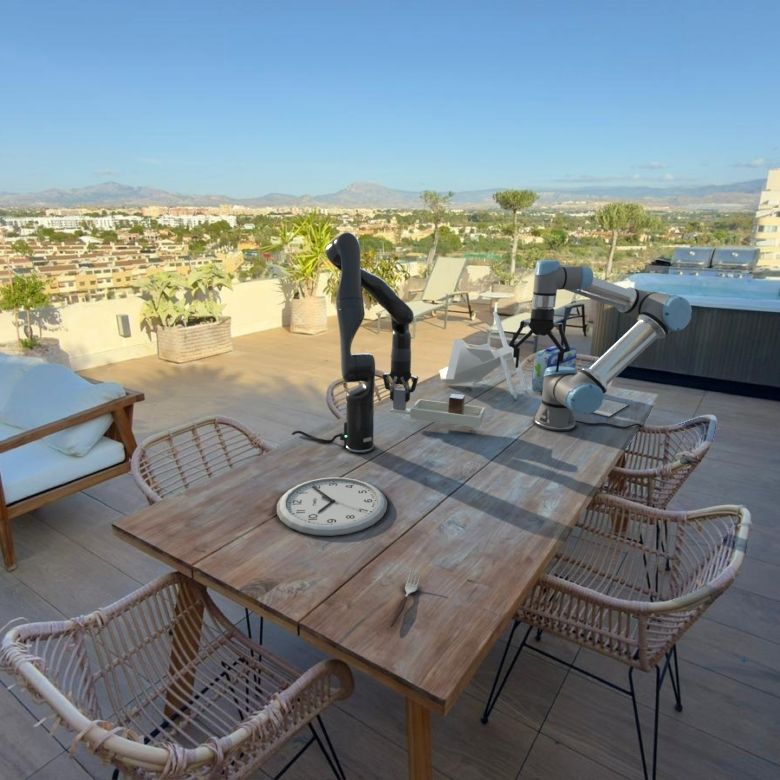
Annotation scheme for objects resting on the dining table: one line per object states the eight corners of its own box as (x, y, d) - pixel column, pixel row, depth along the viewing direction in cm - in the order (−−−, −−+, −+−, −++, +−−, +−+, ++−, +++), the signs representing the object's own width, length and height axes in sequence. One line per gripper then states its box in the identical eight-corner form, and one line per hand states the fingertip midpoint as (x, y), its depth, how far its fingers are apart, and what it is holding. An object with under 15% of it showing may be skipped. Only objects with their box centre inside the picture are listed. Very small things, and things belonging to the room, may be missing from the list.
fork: (384, 627, 99) (384, 618, 99) (410, 577, 114) (410, 569, 113) (397, 631, 99) (397, 622, 98) (421, 580, 113) (421, 572, 112)
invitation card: (608, 416, 214) (573, 407, 224) (608, 416, 214) (573, 408, 224) (628, 404, 229) (594, 396, 238) (628, 405, 229) (594, 397, 238)
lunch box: (548, 398, 236) (553, 353, 229) (527, 393, 243) (531, 349, 237) (575, 387, 253) (581, 344, 247) (555, 382, 260) (560, 341, 254)
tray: (484, 417, 199) (486, 394, 196) (479, 428, 188) (481, 404, 186) (396, 405, 209) (397, 384, 207) (387, 415, 198) (387, 392, 196)
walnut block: (463, 415, 198) (464, 395, 195) (461, 419, 193) (462, 399, 191) (450, 413, 199) (451, 393, 197) (447, 417, 195) (449, 397, 192)
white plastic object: (461, 429, 252) (437, 405, 227) (444, 352, 274) (420, 323, 250) (535, 404, 240) (518, 377, 215) (510, 326, 262) (492, 293, 237)
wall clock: (392, 527, 129) (268, 531, 127) (391, 533, 130) (269, 537, 127) (383, 473, 158) (282, 475, 155) (383, 478, 158) (282, 480, 156)
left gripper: (422, 357, 198) (420, 400, 203) (386, 354, 202) (385, 396, 207) (416, 362, 191) (415, 406, 196) (379, 358, 195) (379, 401, 200)
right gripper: (582, 308, 175) (574, 369, 181) (506, 303, 182) (501, 362, 189) (582, 311, 168) (574, 375, 174) (504, 306, 175) (499, 367, 182)
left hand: (399, 400), depth 202 cm, fingers closed on tray, 5 cm apart
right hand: (536, 368), depth 181 cm, fingers open, 13 cm apart
